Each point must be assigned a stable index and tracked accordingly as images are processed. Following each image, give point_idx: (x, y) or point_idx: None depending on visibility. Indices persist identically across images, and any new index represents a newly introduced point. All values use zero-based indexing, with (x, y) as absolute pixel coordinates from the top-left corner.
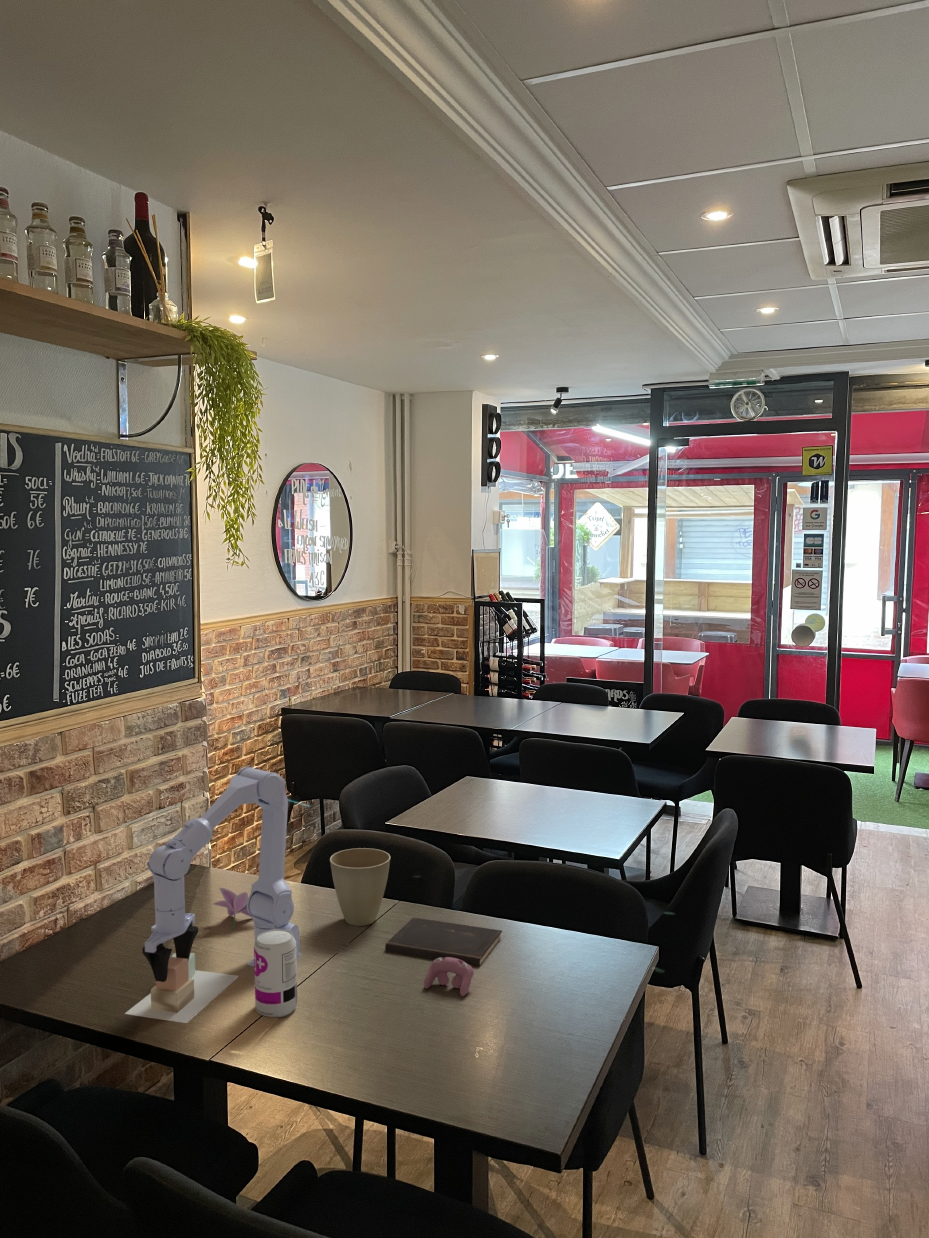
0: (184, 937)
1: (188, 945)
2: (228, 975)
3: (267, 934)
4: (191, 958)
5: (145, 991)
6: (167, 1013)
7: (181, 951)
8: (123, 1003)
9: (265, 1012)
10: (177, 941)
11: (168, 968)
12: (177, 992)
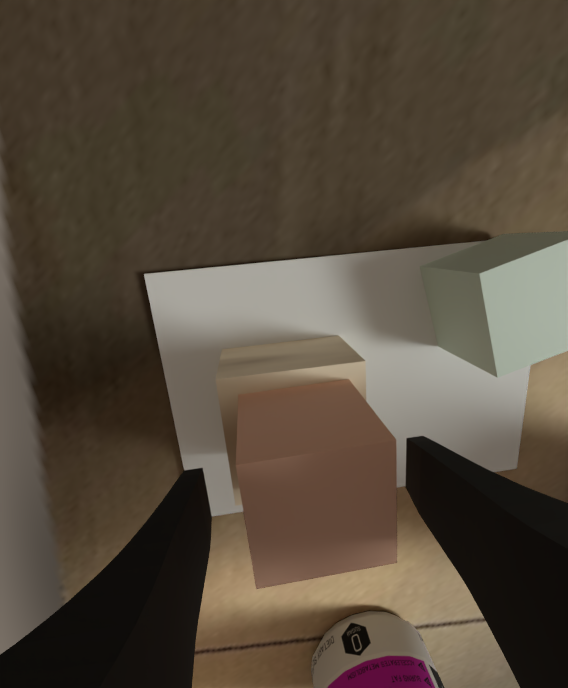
0: (541, 655)
1: (484, 606)
2: (515, 435)
3: None
4: (543, 357)
5: (343, 211)
6: (219, 425)
7: (451, 515)
8: (224, 191)
9: (313, 676)
10: (510, 549)
11: (249, 546)
12: (241, 503)
